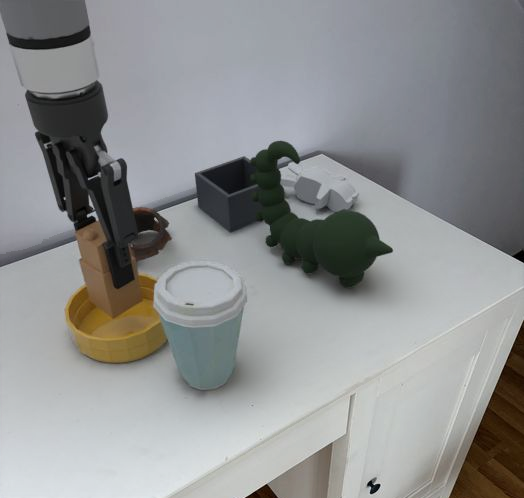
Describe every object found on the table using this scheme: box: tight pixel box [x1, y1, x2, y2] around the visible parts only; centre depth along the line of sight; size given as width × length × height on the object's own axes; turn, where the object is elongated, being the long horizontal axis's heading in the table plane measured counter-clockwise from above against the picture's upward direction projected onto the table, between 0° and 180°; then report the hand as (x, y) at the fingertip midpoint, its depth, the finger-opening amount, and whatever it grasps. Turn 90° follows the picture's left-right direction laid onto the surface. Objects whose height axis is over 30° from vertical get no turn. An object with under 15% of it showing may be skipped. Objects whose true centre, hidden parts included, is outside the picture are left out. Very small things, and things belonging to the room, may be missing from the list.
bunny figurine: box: [280, 161, 360, 213], centre depth 101 cm, size 10×5×15 cm
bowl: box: [64, 272, 168, 364], centre depth 77 cm, size 14×14×4 cm
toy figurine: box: [250, 140, 394, 289], centre depth 82 cm, size 9×19×25 cm
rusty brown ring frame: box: [130, 206, 173, 262], centre depth 91 cm, size 12×10×8 cm
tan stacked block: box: [74, 219, 143, 319], centre depth 71 cm, size 5×5×12 cm
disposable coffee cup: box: [153, 260, 249, 391], centre depth 67 cm, size 11×11×15 cm
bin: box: [194, 155, 262, 233], centre depth 98 cm, size 10×10×7 cm
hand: (110, 273), depth 72 cm, fingers closed on tan stacked block, 5 cm apart
